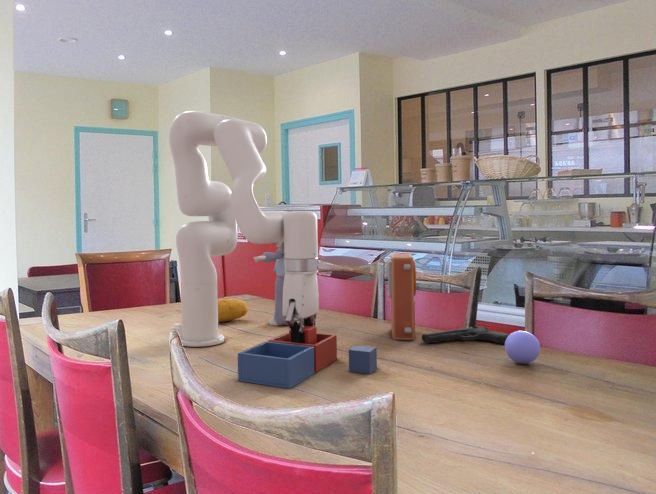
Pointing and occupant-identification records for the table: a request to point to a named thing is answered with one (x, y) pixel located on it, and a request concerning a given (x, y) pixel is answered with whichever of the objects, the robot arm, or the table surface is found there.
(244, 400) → the table surface
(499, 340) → the handgun
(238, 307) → the potato
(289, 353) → the blue bin
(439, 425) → the table surface
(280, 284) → the toy
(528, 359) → the sphere
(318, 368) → the red bin
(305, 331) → the red block
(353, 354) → the blue block
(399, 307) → the control panel
